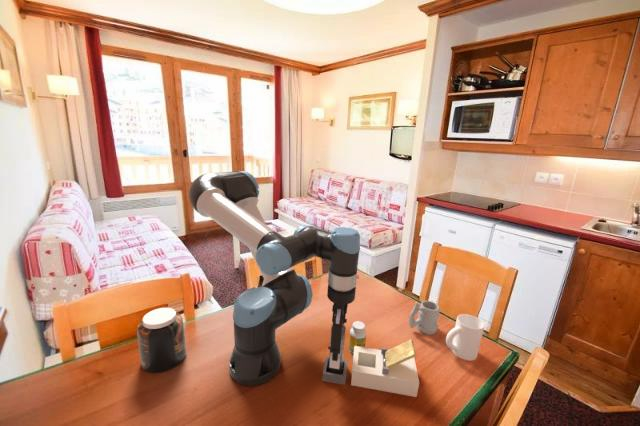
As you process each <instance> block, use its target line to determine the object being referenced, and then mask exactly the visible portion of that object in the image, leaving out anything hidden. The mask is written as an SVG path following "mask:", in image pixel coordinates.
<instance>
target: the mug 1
mask: <svg viewBox="0 0 640 426" xmlns="http://www.w3.org/2000/svg"><path fill="white" fill-rule="evenodd" d="M417 314H418V316H417V319H415V317H416V315H417ZM439 317H440V306H439V305H438V304H437V303H436V302H434V301H431V300H423V301H421V303H420V304H419V302H418V301H415V302H414V306H413V308H412V310H411V312H410V314H409V315H408V324H409V326H410V328H411V329H414V328H415V327H416V329H417V330H418V331H420V333H422V334H423V333H424V334H425V335H430V336H431V335H434V334H436V332H437V331H438V328H439V326H438V322H439V321H438V320H439Z"/></svg>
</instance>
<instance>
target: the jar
mask: <svg viewBox="0 0 640 426" xmlns="http://www.w3.org/2000/svg"><path fill="white" fill-rule="evenodd" d="M136 333H137V334H136V336H137V343H138V351H139V357H140V364H141V368H142V369H143V370H144V371H145V372H147V373H152V374H158V373H164V372H167V371H169V370H172V369H174V368H175V367H177V366H179V365H180V364H181V363H182V362H183V361H184V360H185V358H186V356H187V347H186V336H185V325H184V319H183V316H182V315H181V314H180V313H179V312H176V309H174V308H173V307H159V308H155V309H153V310H151V311H149V312H147V313H146V314H145V315H144V316H143V317H142V320H141V321H140V322H139V323H138V325H137V329H136Z"/></svg>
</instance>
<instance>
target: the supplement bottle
mask: <svg viewBox="0 0 640 426" xmlns="http://www.w3.org/2000/svg"><path fill="white" fill-rule="evenodd" d="M348 339H349V340H348V350H349V352H350V353H351V354H352V355H354V346H359V347H366V341H367V340H366V339H367V331H366V324H365V323H364V322H362V321H360V320H357V321H354V322H352V325H351V328H350V330H349V338H348Z"/></svg>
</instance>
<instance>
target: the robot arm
mask: <svg viewBox="0 0 640 426" xmlns="http://www.w3.org/2000/svg"><path fill="white" fill-rule="evenodd" d="M259 188H260V187H259V183H258V180H257V179H256V177H254V175H253V174H252V173H250V172H248V171H246V170H245V171H244V170H241V171H240V170H232V171H226V172H209V173H204V174H201V175H199V176H198V177H197V178H195V179H194V180H193V182H192V183H191V185H190V186H189V191H188V199H189V203H190V205H191V206H192V208H193V210H194V211H196V213H198V214H199V215H201V216H202V217H205V218H210V219H211V220H213V221H214V222H215V223H217V224H218V225H219V226H220V227H222V229H224V230H225V231H227V232H228V233H229V234H230V235H232V236H233V237H234V238H236V239H237V240H238V241H240V242H241V243H242V244H243V245H245V246H246V247H247V248H249V251H250V253H251V255H252V257H253V260H254V261H255V264H256V265H257V267H258V270H259V272H260V274H261V275H262V278H263V282H262V285H261V286H257V287H251V288H248V289H246V290H244V291H243V292H241V293H240V294H239V295H238V296H237V297H236V299H235V301H234V303H233V312H232V320H233V335H234V336H233V337H234V345H233V349H232V352H231V354H230V358H229V360H228V368H229V369H228V370H229V374H230V376H231V379H232V380H233V381H235V382H236V383H238V384H240V385H243V386H249V387H251V386H252V387H253V386H259V385H263V384H265V383H267V382H269V381H270V380H272V379H273V378H274V377H275V376H276V375H277V373H278V372H279V370H280V368H281V363H282V362H281V360H282V359H281V358H282V354H281V351H280V350H279V346H278V345H277V342H276V330H277V329H278V328H280V327H281V326H283V325H284V324H286V323H288V322H289V321H291V320H292V319H294V318H295V317H296V316H298V315H300V314H302V313H303V312H304V311H305V310H307V309H308V308H309V306H310V305H311V304H312V301H313V300H312V299H313V289H312V285H311V283H310V281H309V280H308V278H307V277H306V276H304V275H303V274H301V273H297V272H296V270H295V268H293V267H295V266H297V265H299V264H301V263H303V262H306V261H309V259H310V260H311V259H313V258H315V257H317V258H319V259H321V260H325V261H328V262H329V263H328V265H329V266H328V276H327V277H328V278H327V279H328V280H327V283H328V285H327V292H326V294H327V295H326V296H327V299H328V300H329V301H330V302H332V303H333V304H332V308H331V310H332V319H331V321H332V325H333V327H332V326H331V327H332V338H331V337H330V341H331V346H330V345H328V346H327V350H329V355H330V365H329V366H328V368H335V369H339V367H340V355H341V337H342V327H343V325H344V326H345V324H347V322H348V321H347V318H346V315H347V312H348V305H349V304H352V303H353V302H354V301H355V298H356V290H357V288H356V286H357V280H359V279H360V275H358V267H359V258H360V257H359V256H360V250H361V246H360V245H361V234H360V232H359V231H358V230H357V229H355V228H351V227H346V226H342V227H341V226H340V227H339V226H338V227H335V228H333V229H332V230H331V231H328V230H326V229H325V230H324V229H321V228H318V227H316V226H312V225H306V224H303V225H302V224H301V225H300V226H298V227H297V229H295V230H294V232H293V233H292V234H291V235H289V236H283V235H282V234H280V233H278V231H275V230H274V229H272V228H271V227H270V226H269V225H267V224H266V222H265V220H264V218H263V216H262V213H261V212H260V210H259V208H258V202H259V198H258V197H259V195H260V190H259Z"/></svg>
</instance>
